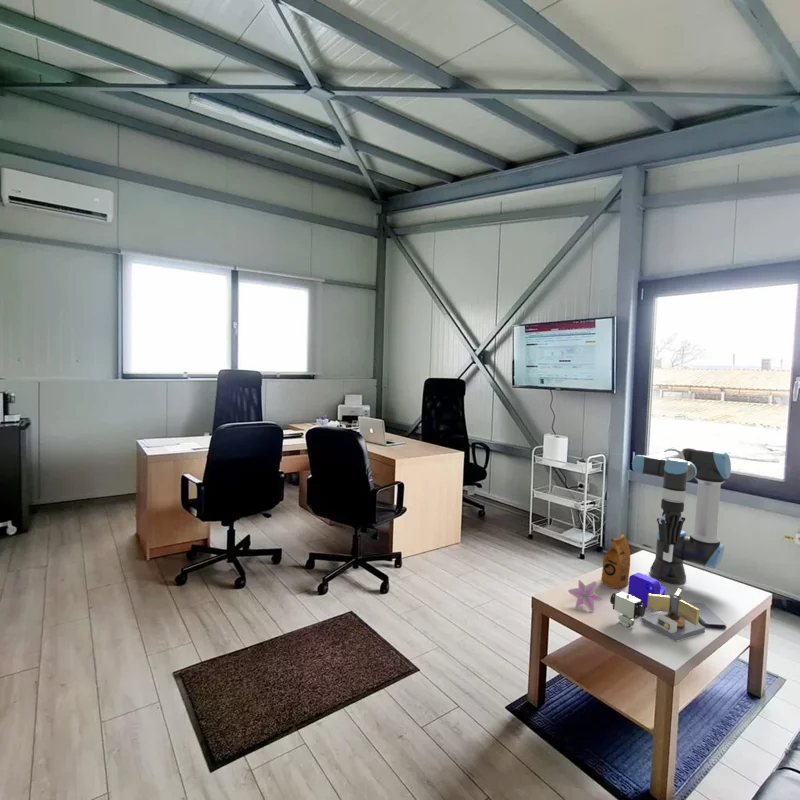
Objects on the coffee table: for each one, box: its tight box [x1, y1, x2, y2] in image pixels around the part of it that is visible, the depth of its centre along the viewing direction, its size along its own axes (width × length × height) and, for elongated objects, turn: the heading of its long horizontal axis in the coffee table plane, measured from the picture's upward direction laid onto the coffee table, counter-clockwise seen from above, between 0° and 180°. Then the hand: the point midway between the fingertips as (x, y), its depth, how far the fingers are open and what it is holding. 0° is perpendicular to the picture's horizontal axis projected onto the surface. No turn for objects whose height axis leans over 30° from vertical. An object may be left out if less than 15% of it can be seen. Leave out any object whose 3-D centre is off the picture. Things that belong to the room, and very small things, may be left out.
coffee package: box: [600, 534, 631, 590], centre depth 218 cm, size 10×12×22 cm
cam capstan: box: [646, 588, 700, 628], centre depth 183 cm, size 17×15×10 cm
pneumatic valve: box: [609, 590, 646, 628], centre depth 184 cm, size 6×12×12 cm, turn 36°
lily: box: [567, 579, 603, 613], centre depth 197 cm, size 12×12×10 cm
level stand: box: [641, 611, 706, 642], centre depth 183 cm, size 18×14×6 cm
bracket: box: [627, 572, 666, 612], centre depth 204 cm, size 18×11×12 cm, turn 124°
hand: (667, 560), depth 181 cm, fingers closed
